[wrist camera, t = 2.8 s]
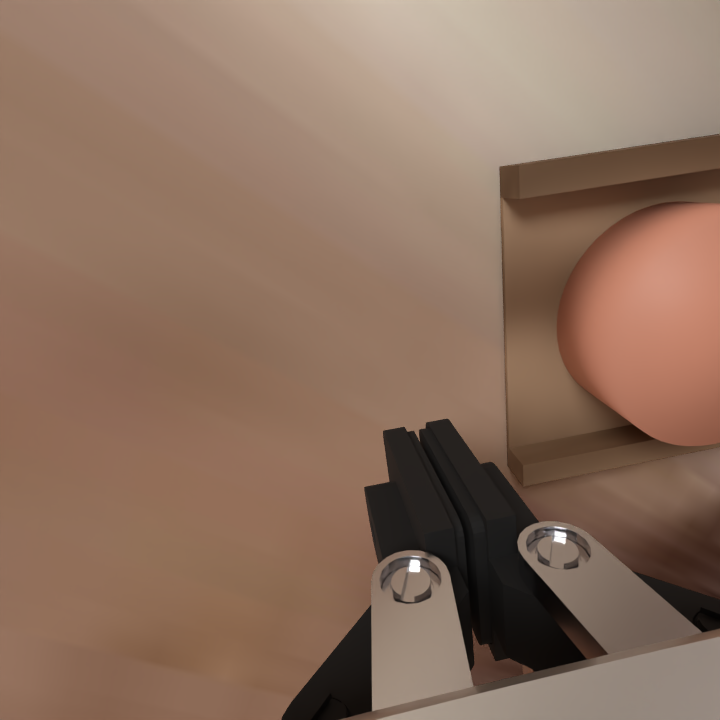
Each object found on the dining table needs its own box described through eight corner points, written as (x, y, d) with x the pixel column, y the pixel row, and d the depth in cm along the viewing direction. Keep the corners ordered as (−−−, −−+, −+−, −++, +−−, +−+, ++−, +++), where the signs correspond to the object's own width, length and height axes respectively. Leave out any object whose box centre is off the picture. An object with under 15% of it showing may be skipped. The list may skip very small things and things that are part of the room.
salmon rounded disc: (557, 220, 17) (620, 230, 14) (766, 184, 17) (876, 186, 14) (556, 419, 20) (607, 466, 17) (735, 383, 20) (819, 421, 17)
